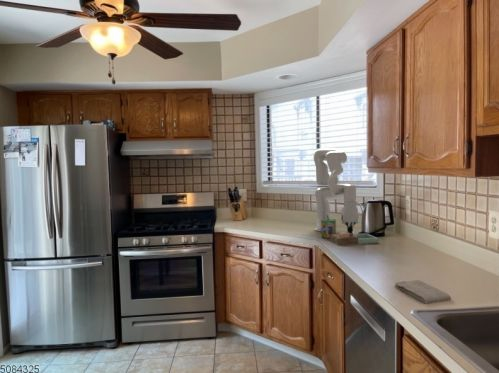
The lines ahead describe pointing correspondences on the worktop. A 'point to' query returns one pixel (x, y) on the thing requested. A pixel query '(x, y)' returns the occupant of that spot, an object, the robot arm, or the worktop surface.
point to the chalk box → (328, 227)
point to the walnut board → (344, 239)
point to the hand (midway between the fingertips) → (350, 232)
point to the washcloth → (422, 291)
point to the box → (366, 239)
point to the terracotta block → (344, 234)
